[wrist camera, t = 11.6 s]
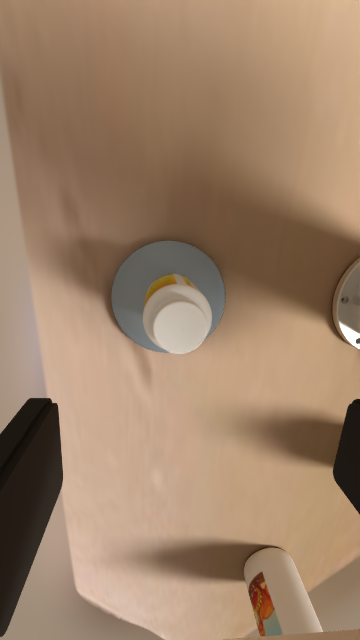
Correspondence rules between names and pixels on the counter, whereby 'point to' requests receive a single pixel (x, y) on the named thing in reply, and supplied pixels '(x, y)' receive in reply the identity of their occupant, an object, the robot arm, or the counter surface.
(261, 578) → the milk bottle
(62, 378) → the counter surface
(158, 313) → the supplement bottle
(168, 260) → the dish
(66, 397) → the counter surface
